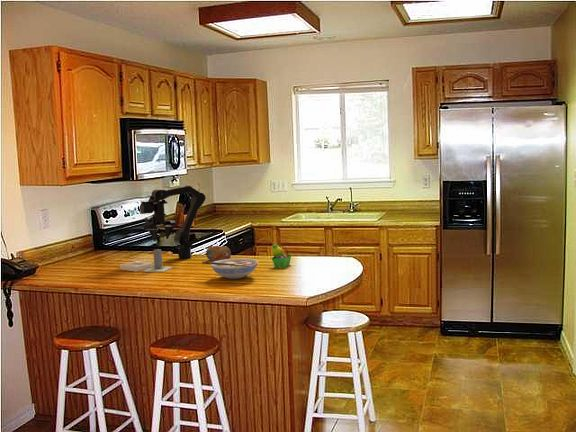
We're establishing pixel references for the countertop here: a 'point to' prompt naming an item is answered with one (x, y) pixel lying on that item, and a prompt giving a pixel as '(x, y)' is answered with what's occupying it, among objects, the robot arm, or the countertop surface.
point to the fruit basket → (280, 257)
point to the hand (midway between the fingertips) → (160, 240)
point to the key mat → (158, 269)
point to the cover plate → (136, 266)
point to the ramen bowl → (234, 267)
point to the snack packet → (218, 253)
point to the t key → (157, 259)
